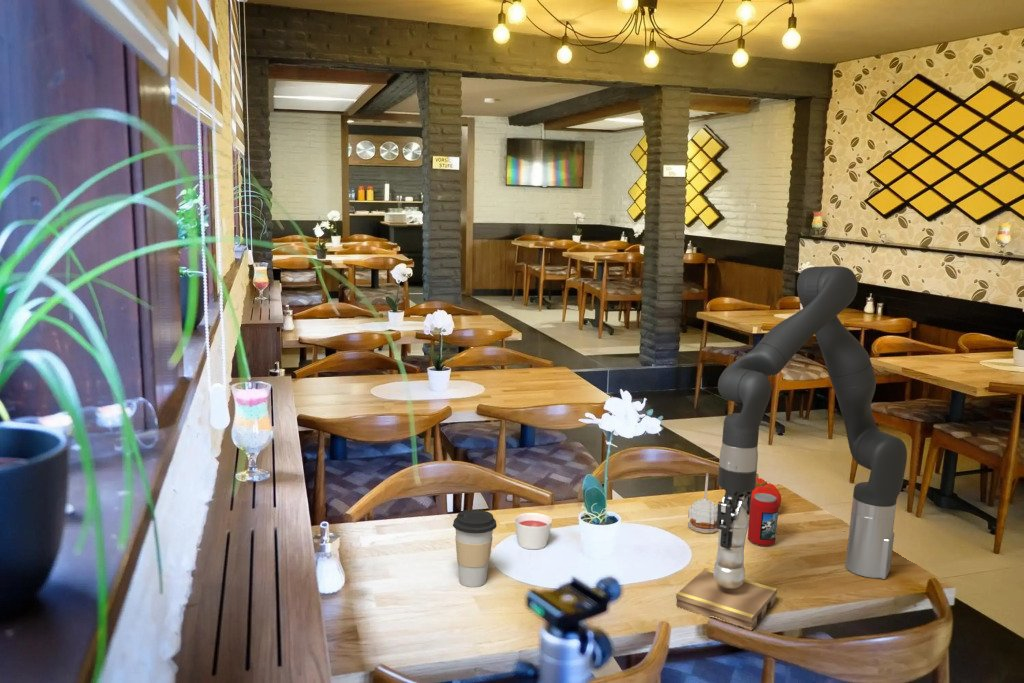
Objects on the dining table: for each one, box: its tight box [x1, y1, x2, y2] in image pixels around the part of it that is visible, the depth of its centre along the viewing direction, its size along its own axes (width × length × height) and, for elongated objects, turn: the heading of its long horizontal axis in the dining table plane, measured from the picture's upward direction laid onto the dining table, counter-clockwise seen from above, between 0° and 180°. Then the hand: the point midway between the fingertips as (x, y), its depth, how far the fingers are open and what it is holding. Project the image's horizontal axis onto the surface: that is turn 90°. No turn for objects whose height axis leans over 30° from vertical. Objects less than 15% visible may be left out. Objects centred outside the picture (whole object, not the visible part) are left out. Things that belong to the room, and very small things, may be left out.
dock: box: [675, 567, 778, 629], centre depth 173 cm, size 16×16×3 cm
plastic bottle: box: [712, 494, 749, 589], centre depth 171 cm, size 6×7×20 cm
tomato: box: [751, 477, 782, 508], centre depth 228 cm, size 13×12×8 cm
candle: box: [514, 512, 553, 550], centre depth 201 cm, size 9×9×6 cm
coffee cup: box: [452, 509, 498, 588], centre depth 179 cm, size 9×9×15 cm
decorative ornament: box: [687, 473, 718, 534], centre depth 214 cm, size 8×8×15 cm
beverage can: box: [747, 493, 780, 547], centre depth 206 cm, size 7×7×12 cm
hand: (731, 541), depth 171 cm, fingers closed on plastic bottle, 6 cm apart
